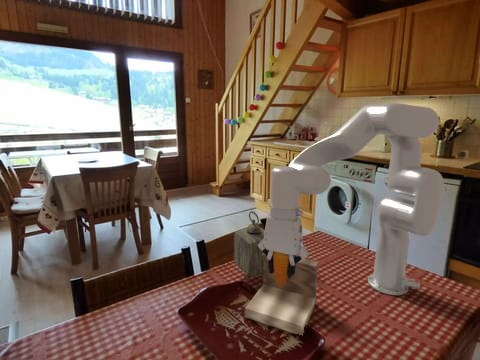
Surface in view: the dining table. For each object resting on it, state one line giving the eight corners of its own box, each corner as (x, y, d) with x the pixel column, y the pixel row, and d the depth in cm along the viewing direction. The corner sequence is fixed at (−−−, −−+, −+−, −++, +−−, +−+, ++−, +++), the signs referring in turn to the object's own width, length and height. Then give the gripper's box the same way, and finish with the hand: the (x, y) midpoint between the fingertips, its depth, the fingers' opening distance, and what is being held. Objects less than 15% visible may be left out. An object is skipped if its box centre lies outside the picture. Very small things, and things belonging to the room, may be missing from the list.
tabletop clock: (273, 285, 104) (275, 216, 98) (249, 291, 100) (250, 220, 94) (253, 266, 116) (254, 204, 111) (232, 271, 113) (232, 207, 107)
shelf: (315, 304, 93) (318, 261, 90) (302, 336, 80) (305, 286, 77) (264, 289, 101) (265, 249, 98) (245, 317, 87) (245, 271, 84)
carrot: (289, 293, 83) (291, 242, 79) (271, 290, 84) (272, 240, 80) (289, 283, 87) (292, 235, 84) (272, 281, 88) (274, 233, 85)
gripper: (318, 213, 80) (314, 274, 84) (260, 204, 88) (258, 261, 92) (312, 221, 74) (307, 288, 78) (249, 211, 81) (248, 272, 85)
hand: (281, 273), depth 85 cm, fingers closed on carrot, 4 cm apart
